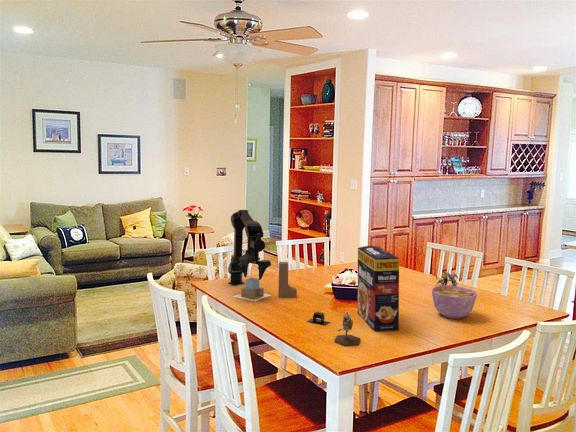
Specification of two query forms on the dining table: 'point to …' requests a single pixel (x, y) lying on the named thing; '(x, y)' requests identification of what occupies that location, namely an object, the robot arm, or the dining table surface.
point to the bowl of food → (453, 300)
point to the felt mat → (251, 299)
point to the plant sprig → (448, 279)
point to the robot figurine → (346, 339)
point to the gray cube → (252, 284)
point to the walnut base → (252, 293)
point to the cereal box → (378, 288)
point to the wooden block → (285, 283)
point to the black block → (317, 321)
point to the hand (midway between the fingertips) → (252, 278)
